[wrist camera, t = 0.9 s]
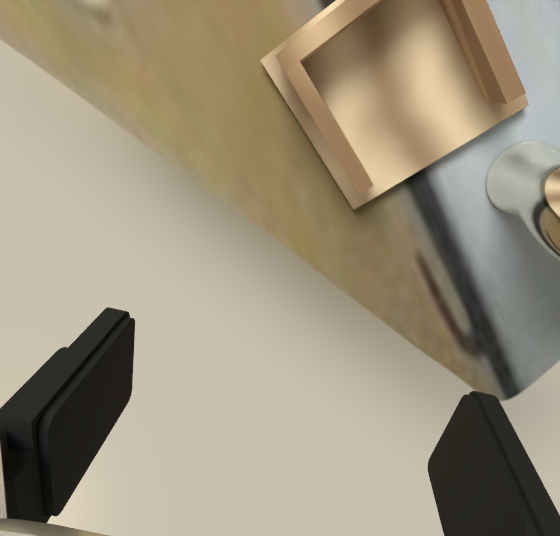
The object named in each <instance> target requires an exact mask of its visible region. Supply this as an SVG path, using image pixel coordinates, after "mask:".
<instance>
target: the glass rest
mask: <svg viewBox="0 0 560 536" xmlns="http://www.w3.org/2000/svg"><path fill="white" fill-rule="evenodd" d="M261 62H262V64H263V65H264V67H265V68H266V70H267V72H268V73H269V75H270V76H271V78H272V80H273V81H274V83H275V85H276V86H277V88H278V89H279V91H280V93H281V94H282V96H283V97H284V99H285V101H286V102H287V104H288V105H289V107H290V109H291V110H292V112H293V113H294V115H295V117H296V118H297V120H298V121H299V123H300V125H301V126H302V128H303V129H304V131H305V133H306V134H307V136H308V137H309V139H310V141H311V142H312V144H313V145H314V147H315V149H316V150H317V152H318V153H319V155H320V157H321V158H322V160H323V161H324V163H325V165H326V166H327V168H328V169H329V171H330V173H331V174H332V176H333V177H334V179H335V181H336V182H337V184H338V185H339V187H340V189H341V190H342V192H343V193H344V195H345V197H346V198H347V200H348V201H349V203H350V205H351V206H352V208H353V209H354V210H355V209H356V208H358V207H360V206H361V205H363V204H365V203H366V202H368V201H370V200H371V199H373V198H375V197H376V196H378V195H380V194H381V193H383V192H385V191H386V190H388V189H390V188H391V187H393V186H395V185H396V184H398V183H400V182H401V181H403V180H405V179H406V178H408V177H410V176H411V175H413V174H415V173H416V172H418V171H420V170H421V169H423V168H425V167H426V166H428V165H430V164H431V163H433V162H435V161H436V160H438V159H440V158H441V157H443V156H445V155H446V154H448V153H450V152H451V151H453V150H455V149H456V148H458V147H460V146H461V145H463V144H465V143H466V142H468V141H470V140H471V139H473V138H475V137H476V136H478V135H480V134H481V133H483V132H485V131H486V130H488V129H490V128H491V127H493V126H495V125H497V124H498V123H500V122H502V121H503V120H505V119H507V118H508V117H510V116H512V115H513V114H515V113H517V112H518V111H520V110H522V109H523V108H525V107H527V106H528V105H529V104H528V101H527V99H526V97H525V93H526V92H525V90H524V88H523V85H522V83H521V81H520V78H519V76H518V74H517V71H516V69H515V67H514V64H513V62H512V60H511V57H510V55H509V52H508V50H507V48H506V45H505V43H504V41H503V38H502V36H501V34H500V31H499V29H498V27H497V24H496V22H495V20H494V17H493V15H492V13H491V10H490V8H489V5H488V3H487V1H486V0H336V1H335V2H333V3H332V4H331V5H330V6H328V7H327V8H326V9H324V10H323V11H322V12H321V13H319V14H318V15H317V16H316V17H314V18H313V19H312V20H311V21H309V22H308V23H307V24H306V25H304V26H303V27H302V28H300V29H299V30H298V31H297V32H295V33H294V34H293V35H292V36H290V37H289V38H288V39H287V40H285V41H284V42H283V43H281V44H280V45H279V46H278V47H276V48H275V49H274V50H273V51H271V52H270V53H269V54H268V55H266V56H265V57H264V58H263V59H261Z"/></svg>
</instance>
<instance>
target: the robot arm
mask: <svg viewBox="0 0 560 536" xmlns="http://www.w3.org/2000/svg"><path fill="white" fill-rule="evenodd" d="M134 333H135V320H134V319H133V318H130V315H129V312H127V311H122V310H118V309H113V308H106V309H105V310H104V311H103V312H102V313H101V314H100V315H99V316H98V317H97V318H96V319H95V320H94V321H93V322H92V323H91V324H90V325H89V327H87V329H86V330H85V331H84V332H83V333H82V334H81V335H80V336H79V337H78V338H77V339H76V340H75V341H74V342H73V343H72V344H71V345H70V346H69V347H68V348H66V347H64V348H61V349H59V350H58V351H57V352H56V353H55V354H54V355H53V356H52V357H51V358H50V359H49V360H48V361H47V362H46V363H45V364H44V365H43V366H42V367H41V368H40V369H39V370H38V371H37V372H36V373H35V374H34V375H33V376H32V377H31V378H30V379H29V380H28V381H27V382H26V383H25V384H24V385H23V386H22V387H21V388H20V389H19V390H18V391H17V392H16V393H15V394H14V395H13V396H12V397H11V398H10V399H9V400H8V401H7V402H6V403H5V404H4V406H3V407H1V408H0V536H107V535H102V534H98V533H92V532H88V531H83V530H78V529H74V528H69V527H64V526H58V525H53V524H47V522H48V520H49V518H50V517H51V515H53V516H58V515H59V514H60V513H61V511H62V510H63V508H64V507H65V505H66V503H67V502H68V500H69V499H70V497H71V495H72V493H73V492H74V490H75V489H76V487H77V485H78V484H79V482H80V480H81V479H82V477H83V476H84V474H85V472H86V470H87V469H88V467H89V466H90V464H91V462H92V460H93V459H94V457H95V456H96V454H97V453H98V451H99V449H100V448H101V446H102V444H103V443H104V441H105V440H106V438H107V436H108V435H109V433H110V431H111V430H112V428H113V426H114V425H115V423H116V422H117V420H118V418H119V417H120V415H121V413H122V412H123V410H124V408H125V407H126V405H127V403H128V402H129V399H130V396H131V392H132V375H133V356H134V355H133V354H134ZM428 473H429V477H430V481H431V485H432V489H433V493H434V497H435V501H436V504H437V508H438V512H439V517H440V520H441V524H442V528H443V532H444V536H560V515H559V513H558V512H557V510H556V508H555V506H554V504H553V502H552V500H551V499H550V496H549V495H548V493H547V491H546V489H545V487H544V485H543V483H542V481H541V479H540V477H539V476H538V474H537V472H536V470H535V468H534V466H533V464H532V462H531V460H530V459H529V457H528V455H527V453H526V451H525V449H524V447H523V445H522V444H521V442H520V440H519V438H518V436H517V434H516V432H515V430H514V428H513V426H512V425H511V423H510V421H509V419H508V417H507V415H506V413H505V411H504V409H503V407H502V406H501V404H500V402H499V400H498V398H497V397H496V396H494V395H490V394H486V393H481V392H477V391H472V392H470V394H469V395H464V396H463V397H462V398H461V400H460V402H459V404H458V406H457V408H456V410H455V411H454V413H453V415H452V417H451V419H450V421H449V423H448V425H447V427H446V429H445V431H444V432H443V434H442V436H441V438H440V440H439V442H438V443H437V446H436V447H435V449H434V451H433V453H432V455H431V457H430V459H429V462H428Z"/></svg>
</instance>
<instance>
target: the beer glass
mask: <svg viewBox="0 0 560 536" xmlns="http://www.w3.org/2000/svg"><path fill="white" fill-rule="evenodd" d="M486 189H487V194H488V196H489V199H490V200H491V202H492V203H493V204H494V205H495V206H496V207H497V208H498V209H500V210H501V211H503V212H505V213H508V214H512V215H516V216H519V217H520V218H521V219H522V221H523V222H524V224H525V225H526V226H527V228H528V229H529V231H530V232H531V234H532V235H533V236H534V238H535V239H536V240H537V241H538V242H539V243H540V245H541V246H542V247H543V248H544V249H545V250H546V251H547V252H548V253H549V254H551V255H552V256H553V257H554V258H555V259H556V260H558V261H559V262H560V149H558V148H557V147H556V146H554V145H552V144H550V143H547V142H544V141H539V140H531V141H525V142H521V143H518V144H515V145H513V146H511V147H510V148H508V149H506V150H505V151H504V152H503V153H501V154H500V155H499V156H498V158H497V159H496V160H495V161H494V163H493V164H492V166H491V168H490V170H489V172H488V175H487V180H486Z"/></svg>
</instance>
